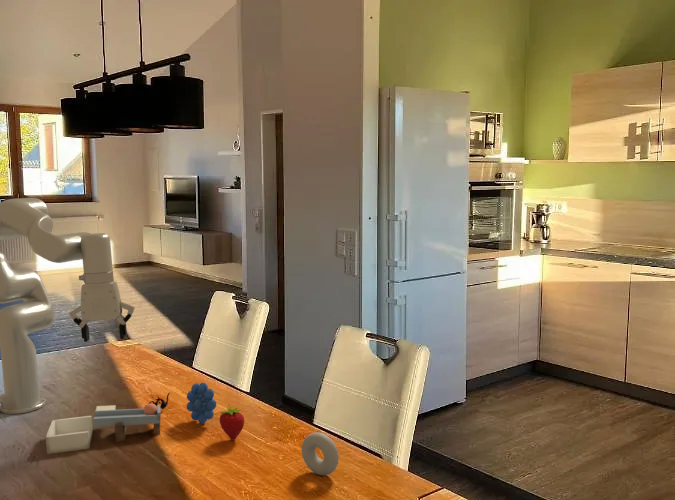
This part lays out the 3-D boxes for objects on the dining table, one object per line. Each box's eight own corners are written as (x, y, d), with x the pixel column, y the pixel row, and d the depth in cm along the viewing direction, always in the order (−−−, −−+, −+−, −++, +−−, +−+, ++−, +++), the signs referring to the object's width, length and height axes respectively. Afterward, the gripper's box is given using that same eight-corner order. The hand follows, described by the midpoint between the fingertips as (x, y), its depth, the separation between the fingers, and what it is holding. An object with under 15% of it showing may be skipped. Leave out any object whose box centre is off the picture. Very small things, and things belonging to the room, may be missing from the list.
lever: (92, 428, 170) (93, 416, 170) (96, 411, 183) (96, 399, 182) (160, 425, 175) (160, 412, 175) (159, 408, 188) (159, 396, 187)
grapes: (227, 422, 183) (226, 381, 181) (209, 430, 177) (207, 388, 176) (200, 414, 190) (198, 374, 188) (181, 421, 184) (179, 380, 183)
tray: (47, 454, 165) (45, 437, 164) (53, 435, 176) (52, 420, 176) (89, 448, 168) (87, 432, 167) (92, 430, 179) (91, 415, 179)
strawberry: (231, 447, 166) (229, 410, 165) (215, 439, 172) (213, 403, 170) (250, 440, 170) (248, 404, 169) (233, 432, 176) (232, 397, 174)
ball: (143, 418, 175) (144, 405, 175) (143, 413, 178) (144, 401, 178) (156, 418, 176) (158, 406, 176) (156, 414, 179) (158, 401, 179)
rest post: (154, 434, 176) (153, 423, 175) (154, 427, 180) (153, 416, 180) (160, 434, 176) (159, 422, 176) (160, 427, 181) (159, 416, 180)
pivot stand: (115, 442, 171) (114, 424, 171) (116, 431, 178) (115, 414, 178) (124, 441, 172) (123, 423, 171) (125, 430, 179) (124, 413, 178)
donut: (299, 471, 152) (297, 430, 151) (308, 466, 155) (307, 425, 154) (333, 483, 146) (332, 440, 145) (342, 477, 149) (341, 435, 148)
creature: (139, 418, 191) (163, 414, 189) (134, 401, 190) (158, 396, 188) (151, 408, 198) (175, 404, 196) (147, 392, 198) (170, 387, 196)
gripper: (62, 282, 174) (68, 345, 176) (128, 278, 176) (134, 340, 178) (70, 278, 181) (76, 338, 183) (134, 274, 183) (139, 333, 185)
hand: (104, 339), depth 181 cm, fingers open, 9 cm apart
